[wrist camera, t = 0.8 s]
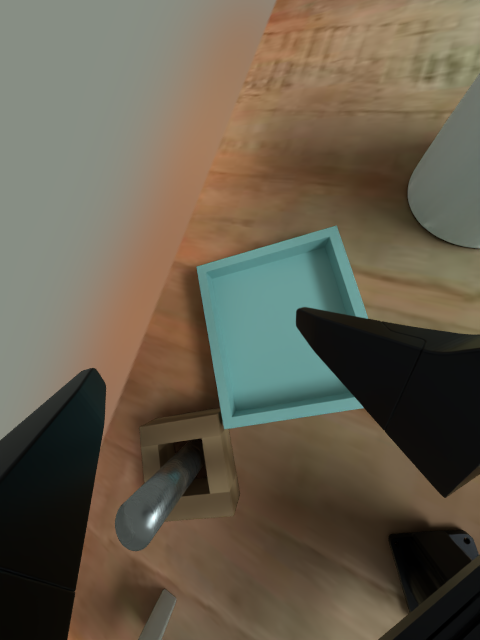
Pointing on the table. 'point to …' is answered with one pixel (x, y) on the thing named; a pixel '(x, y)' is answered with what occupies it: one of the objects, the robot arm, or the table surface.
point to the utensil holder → (451, 177)
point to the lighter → (159, 617)
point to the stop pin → (158, 497)
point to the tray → (276, 328)
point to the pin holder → (221, 482)
